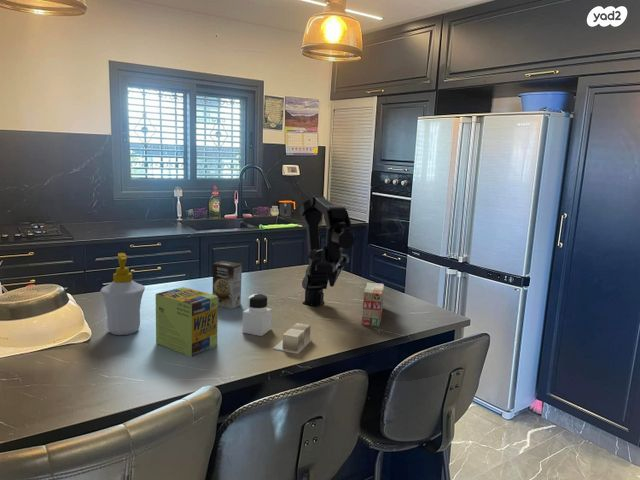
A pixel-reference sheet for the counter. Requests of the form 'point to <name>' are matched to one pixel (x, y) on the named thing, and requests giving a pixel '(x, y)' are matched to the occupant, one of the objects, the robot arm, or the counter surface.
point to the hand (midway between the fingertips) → (331, 286)
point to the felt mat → (280, 347)
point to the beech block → (296, 337)
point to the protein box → (186, 320)
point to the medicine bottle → (257, 316)
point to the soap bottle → (123, 300)
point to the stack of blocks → (373, 304)
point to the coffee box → (227, 283)
